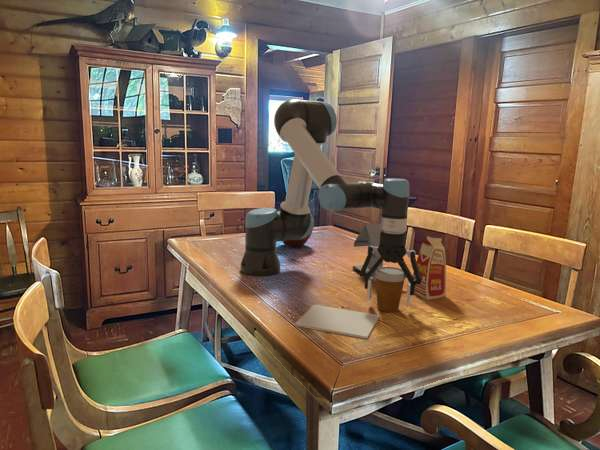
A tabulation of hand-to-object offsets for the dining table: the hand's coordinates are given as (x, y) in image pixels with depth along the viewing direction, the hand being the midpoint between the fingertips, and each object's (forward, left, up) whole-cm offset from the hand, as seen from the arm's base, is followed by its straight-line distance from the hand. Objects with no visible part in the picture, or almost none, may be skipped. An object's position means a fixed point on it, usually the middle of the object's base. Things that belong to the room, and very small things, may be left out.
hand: (388, 301), depth 140 cm
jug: (-55, +63, -2) cm, 84 cm away
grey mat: (-11, -16, -2) cm, 20 cm away
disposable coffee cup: (0, 0, -2) cm, 2 cm away
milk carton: (+10, +20, -2) cm, 22 cm away
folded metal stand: (-11, +32, -2) cm, 34 cm away
